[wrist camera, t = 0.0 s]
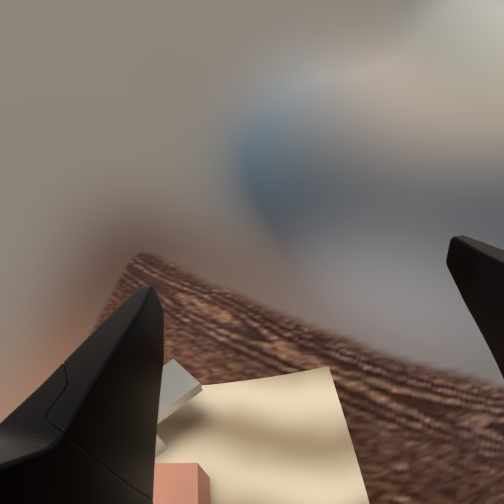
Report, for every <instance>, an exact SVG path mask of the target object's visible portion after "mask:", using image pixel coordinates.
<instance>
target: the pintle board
mask: <svg viewBox="0 0 504 504" xmlns="http://www.w3.org/2000/svg"><path fill="white" fill-rule="evenodd" d="M201 387H202V389H203V391H201V392H200V393H199V394H197V395H196V396H195V397H193V398H192V399H191V400H189V401H188V402H187V403H185V404H184V405H183V406H181V407H180V408H179V409H177V410H176V411H175V412H173V413H172V414H170V415H169V416H168V417H166V418H165V419H164V420H162V421H161V422H159V423H158V424H157V435H158V437H159V438H160V439H161V440H162V441H163V443H164V444H165V445H166V446H167V447H168V449H167V450H165V451H164V452H162V453H161V454H160V455H158V456H157V457H155V463H198V464H199V465H200V466H201V468H202V469H203V470H204V471H205V472H206V474H207V475H208V476H209V477H210V500H211V504H369V500H368V497H367V493H366V489H365V486H364V482H363V479H362V475H361V472H360V468H359V465H358V461H357V458H356V454H355V451H354V448H353V444H352V441H351V438H350V434H349V431H348V428H347V424H346V421H345V418H344V415H343V411H342V408H341V405H340V402H339V399H338V395H337V392H336V389H335V386H334V383H333V380H332V376H331V373H330V370H329V367H323V368H318V369H313V370H308V371H303V372H297V373H292V374H286V375H280V376H274V377H268V378H261V379H254V380H247V381H239V382H231V383H223V384H214V385H204V386H201Z"/></svg>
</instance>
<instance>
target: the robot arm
mask: <svg viewBox="0 0 504 504" xmlns="http://www.w3.org/2000/svg"><path fill="white" fill-rule="evenodd" d="M446 263H447V267H448V269H449V271H450V273H451V275H452V277H453V279H454V281H455V283H456V285H457V287H458V289H459V291H460V293H461V295H462V298H463V300H464V302H465V304H466V305H467V307H468V309H469V311H470V313H471V315H472V316H473V318H474V320H475V322H476V324H477V325H478V327H479V329H480V331H481V333H482V335H483V337H484V339H485V341H486V343H487V344H488V346H489V348H490V350H491V352H492V354H493V356H494V359H495V361H496V362H497V365H498V367H499V369H500V371H501V374H502V376H503V378H504V250H501V249H499V248H496V247H494V246H491V245H488V244H485V243H483V242H480V241H477V240H475V239H472V238H469V237H466V236H463V235H460V236H455V237H453V238H452V239H451V241H450V245H449V249H448V254H447V259H446ZM163 359H164V313H163V308H162V305H161V303H160V300H159V297H158V295H157V292H156V289H155V288H154V287H153V286H145V287H140V288H138V289H137V290H136V291H135V292H134V293H133V294H132V295H131V296H130V297H129V298H128V299H127V300H126V301H125V302H123V303H122V304H121V305H120V306H119V307H118V308H117V309H116V310H115V311H114V312H113V313H112V314H111V315H110V316H109V317H108V318H107V319H106V320H105V321H104V322H103V323H102V324H101V325H100V326H99V327H98V328H97V329H96V330H95V331H94V332H93V333H92V334H91V335H90V336H89V337H88V338H87V339H86V340H85V341H84V342H83V343H82V344H81V345H80V346H79V347H78V348H77V349H76V350H75V351H74V352H73V353H72V354H71V355H70V356H69V357H68V358H67V359H66V360H65V362H64V364H61V366H60V367H59V368H58V369H57V370H56V371H55V372H54V373H53V374H52V375H51V376H50V377H49V378H48V379H47V380H46V381H45V382H44V383H43V384H42V385H41V386H40V387H39V388H38V389H37V390H36V391H35V392H34V393H33V394H31V395H30V396H29V397H28V398H27V399H26V400H25V401H24V402H23V403H22V404H21V405H20V406H18V407H17V408H16V409H15V410H14V411H13V412H12V413H11V414H10V415H9V416H8V417H7V418H5V419H4V420H3V422H1V423H0V504H153V501H152V500H153V489H154V467H155V450H156V436H157V423H158V412H159V401H160V391H161V381H162V372H163Z"/></svg>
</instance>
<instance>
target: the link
mask: <svg viewBox="0 0 504 504" xmlns="http://www.w3.org/2000/svg"><path fill="white" fill-rule="evenodd" d="M152 501H153V504H211V500H210V477H209V476H208V475H207V474H206V472H205V471H204V470H203V469H202V468H201V466H200V465H199V464H198V463H155V467H154V489H153V500H152Z"/></svg>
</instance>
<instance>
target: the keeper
mask: <svg viewBox="0 0 504 504" xmlns="http://www.w3.org/2000/svg"><path fill="white" fill-rule="evenodd" d="M201 391H203V389H202V387H201V384H200V383H199V382H198V381H197V380H196V379H195V378H194V377H192V376H191V375H190V374H189V373H188V372H187V371H186V370H185V369H184V368H183V367H182V366H180V365H179V364H178V363H177V362H176V361H175V360H174V359H173V360H171V361H170V362H168V363H167V364H166V365H164V366H163V372H162V381H161V391H160V401H159V412H158V423H159V422H161V421H162V420H164V419H165V418H166V417H168V416H169V415H170V414H172V413H173V412H175V411H176V410H177V409H179V408H180V407H181V406H183V405H184V404H185V403H187V402H188V401H189V400H191V399H192V398H193V397H195V396H196V395H197V394H199V393H200V392H201ZM158 423H157V424H158ZM167 449H168V447H167V446H166V445H165V444H164V443H163V441H162V440H161V439H160V438H159V437H158V435H157V436H156V450H155V457H157V456H158V455H160V454H161V453H162V452H164V451H165V450H167Z"/></svg>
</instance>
